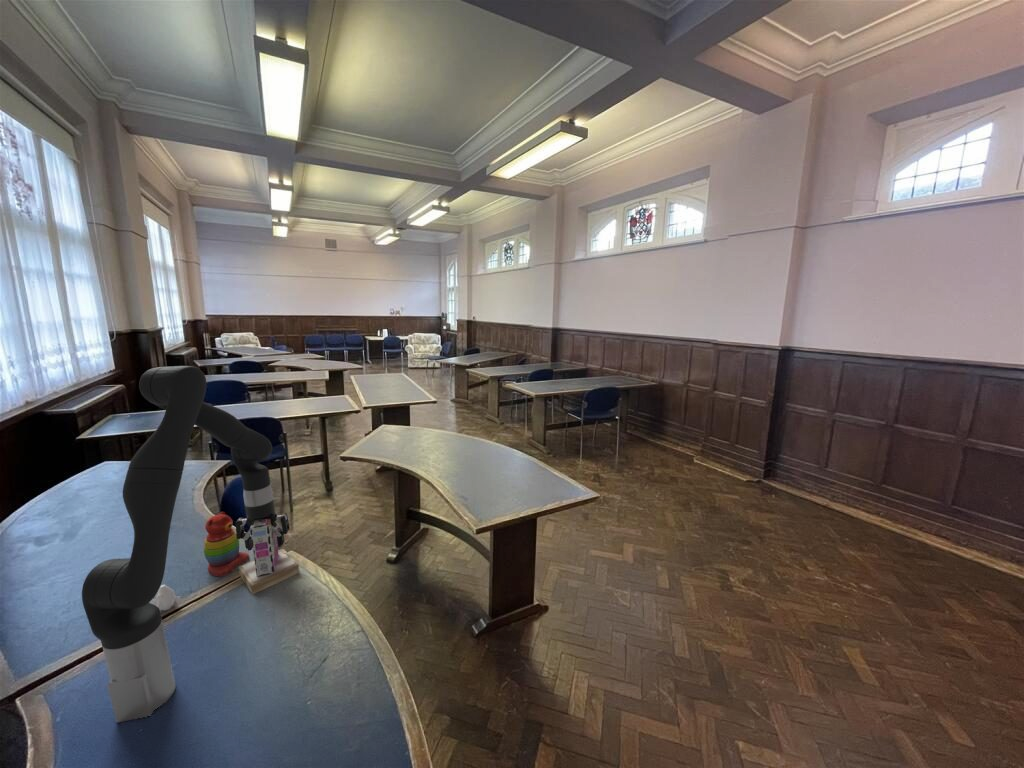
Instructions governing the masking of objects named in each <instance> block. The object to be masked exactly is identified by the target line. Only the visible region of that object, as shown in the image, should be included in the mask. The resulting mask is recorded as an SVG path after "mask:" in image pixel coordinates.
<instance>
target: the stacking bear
mask: <svg viewBox="0 0 1024 768" xmlns="http://www.w3.org/2000/svg"><path fill="white" fill-rule="evenodd" d="M233 524H234V521H233V518H231V517H230V516H229V515H227V514H226V512H225V511H220V512H219V514H214V515H212V516H211V517H209V518H208V519H207V521H206V522H205V526H204V527H205V528H204V529H205V531H206V532H207V533H208V534H207V535H206V538H205V539H204V543H203V554H204V557H205V559H206V561H207V563H208V565H207V571H208V573H209V574H210V575H212V576H215V577H224V576H227V575H229V574H230V573H231V572H233V569H235V568H236V567H237V566H239V565H240V564H241V565H242V564H243V563H245V562H247V561H248V560H249V559H250V555H249V554H248V553H246V552H243V551H240V539H237V537H236V530H235V529H233V528H232V526H233Z"/></svg>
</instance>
